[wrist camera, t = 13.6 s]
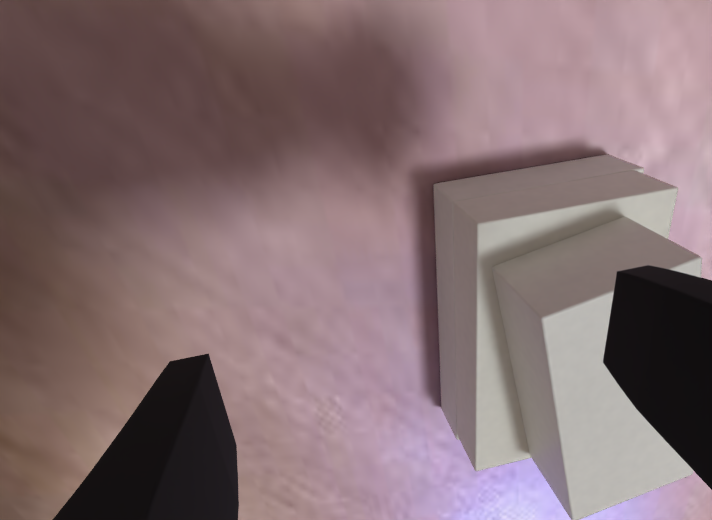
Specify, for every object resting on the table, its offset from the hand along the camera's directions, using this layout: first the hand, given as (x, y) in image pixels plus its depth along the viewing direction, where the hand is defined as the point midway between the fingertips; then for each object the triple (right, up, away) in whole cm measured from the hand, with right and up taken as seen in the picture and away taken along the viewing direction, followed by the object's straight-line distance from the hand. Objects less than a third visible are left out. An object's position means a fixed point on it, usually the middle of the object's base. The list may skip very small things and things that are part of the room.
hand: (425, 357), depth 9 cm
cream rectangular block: (+6, -1, +9) cm, 11 cm away
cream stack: (+6, 0, +12) cm, 14 cm away
